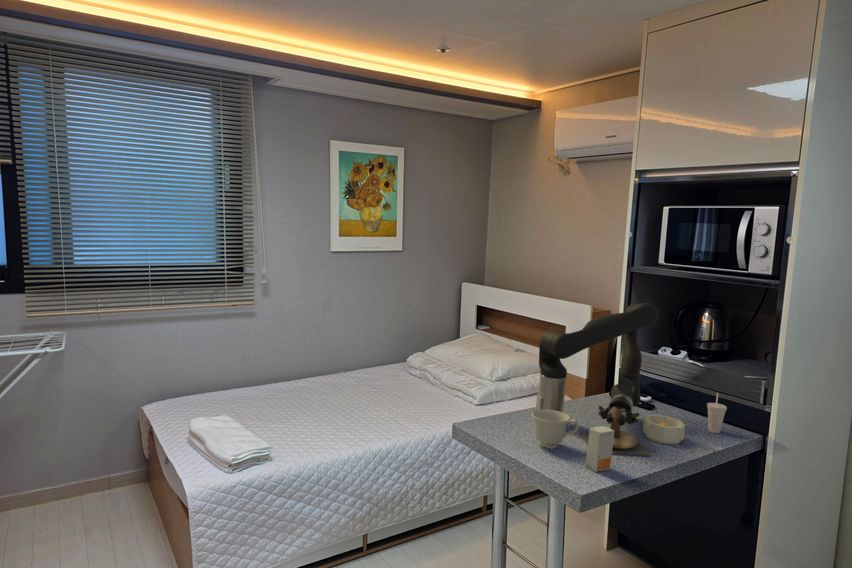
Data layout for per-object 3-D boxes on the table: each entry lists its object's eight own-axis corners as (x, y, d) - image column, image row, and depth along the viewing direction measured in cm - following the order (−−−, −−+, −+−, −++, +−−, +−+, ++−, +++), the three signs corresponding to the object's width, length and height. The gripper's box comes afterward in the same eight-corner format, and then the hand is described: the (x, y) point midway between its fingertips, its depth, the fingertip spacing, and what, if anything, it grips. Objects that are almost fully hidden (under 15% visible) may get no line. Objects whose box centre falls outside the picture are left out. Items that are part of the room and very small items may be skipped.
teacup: (574, 457, 170) (577, 426, 169) (526, 448, 175) (528, 417, 174) (578, 444, 182) (581, 414, 180) (532, 435, 187) (535, 406, 186)
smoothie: (719, 428, 205) (723, 391, 203) (727, 435, 198) (731, 397, 197) (701, 427, 205) (705, 390, 204) (708, 433, 199) (712, 395, 197)
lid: (599, 447, 175) (602, 416, 174) (586, 430, 189) (589, 401, 188) (643, 449, 176) (646, 418, 174) (627, 432, 189) (630, 404, 188)
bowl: (652, 444, 186) (654, 426, 185) (638, 430, 198) (640, 414, 197) (688, 446, 186) (690, 428, 185) (672, 432, 198) (674, 416, 197)
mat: (593, 453, 175) (593, 451, 174) (579, 434, 190) (579, 432, 190) (650, 456, 175) (650, 454, 175) (631, 437, 191) (632, 435, 190)
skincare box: (595, 473, 160) (599, 433, 159) (585, 466, 164) (588, 427, 163) (611, 469, 163) (615, 430, 162) (600, 463, 167) (604, 425, 166)
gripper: (601, 393, 197) (593, 406, 181) (643, 400, 191) (639, 414, 176) (599, 413, 198) (591, 428, 182) (641, 421, 192) (637, 437, 176)
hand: (615, 421), depth 179 cm, fingers closed on lid, 3 cm apart
